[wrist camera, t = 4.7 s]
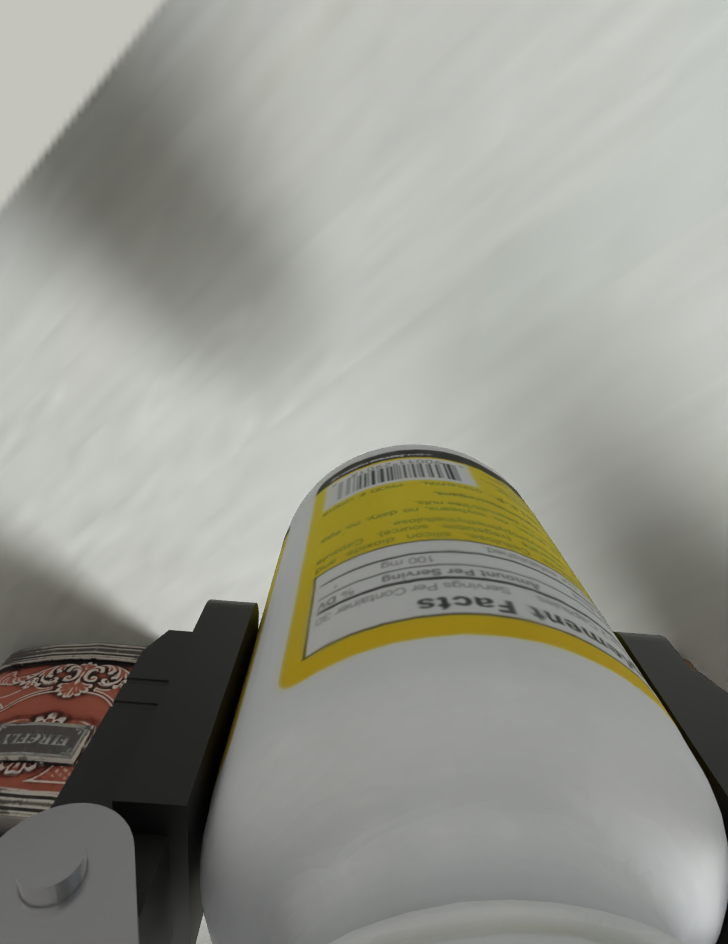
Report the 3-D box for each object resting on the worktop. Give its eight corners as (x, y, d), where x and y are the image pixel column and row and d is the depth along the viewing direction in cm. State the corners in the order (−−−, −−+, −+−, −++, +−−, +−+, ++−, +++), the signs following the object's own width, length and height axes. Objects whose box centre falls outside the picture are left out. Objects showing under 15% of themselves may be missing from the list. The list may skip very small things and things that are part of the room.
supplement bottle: (424, 700, 14) (529, 1583, 5) (236, 572, 13) (-122, 1407, 3) (591, 541, 12) (1248, 1380, 3) (396, 381, 11) (513, 951, 2)
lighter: (204, 645, 22) (86, 917, 13) (210, 716, 23) (104, 1014, 14) (-4, 640, 22) (-276, 909, 13) (11, 711, 23) (-230, 1007, 14)
